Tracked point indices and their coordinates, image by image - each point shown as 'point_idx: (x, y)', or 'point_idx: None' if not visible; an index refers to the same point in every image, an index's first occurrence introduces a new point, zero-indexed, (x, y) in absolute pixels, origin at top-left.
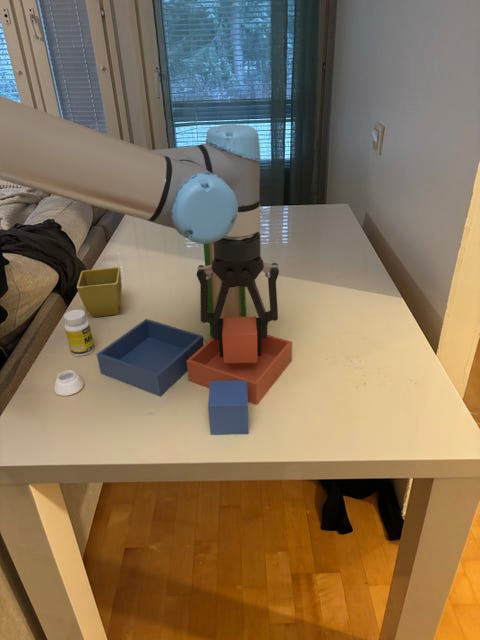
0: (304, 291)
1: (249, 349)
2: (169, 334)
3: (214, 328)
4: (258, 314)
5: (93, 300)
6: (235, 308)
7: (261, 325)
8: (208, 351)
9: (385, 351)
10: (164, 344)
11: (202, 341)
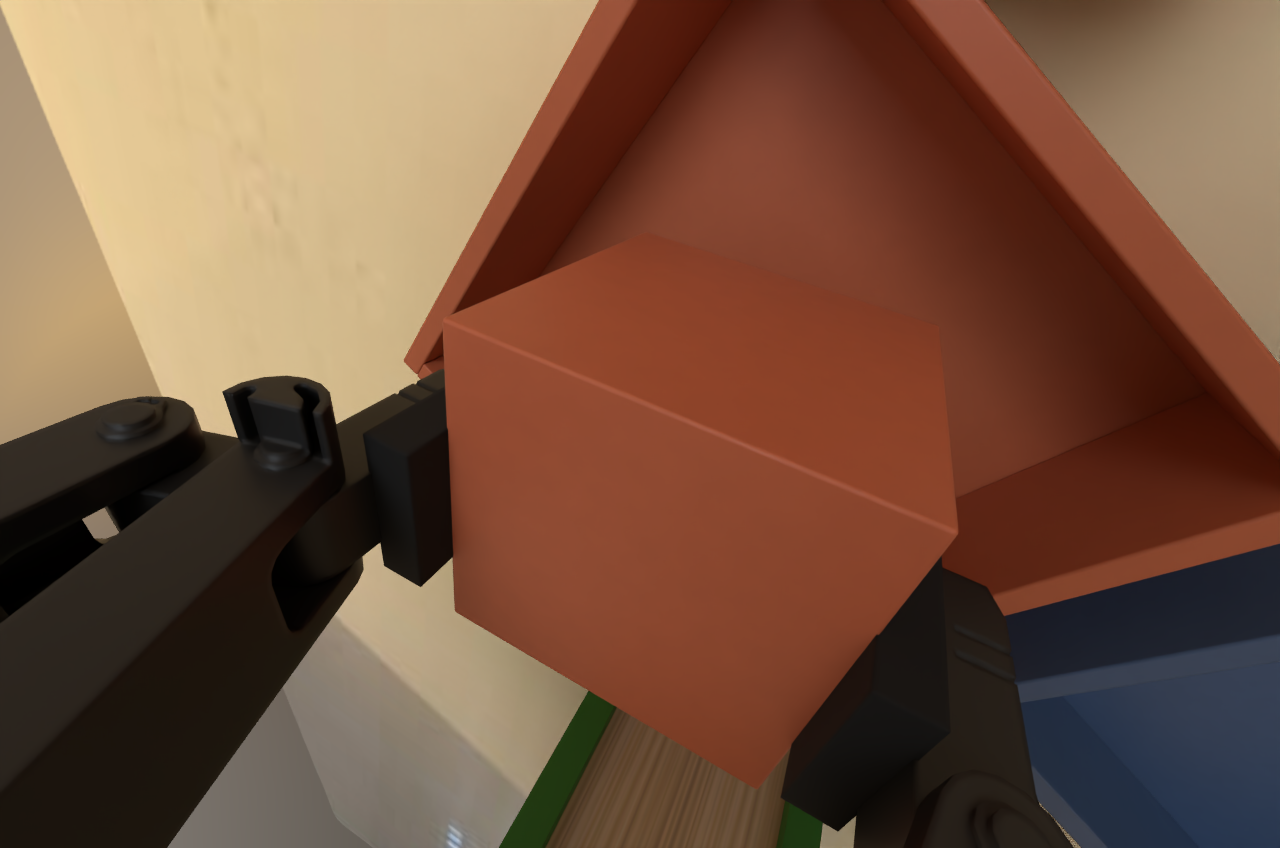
0: (421, 656)
1: (648, 287)
2: (1145, 839)
3: (987, 728)
4: (212, 563)
5: None
6: (630, 762)
7: (326, 405)
8: (956, 556)
9: (180, 235)
10: (1169, 778)
11: None
